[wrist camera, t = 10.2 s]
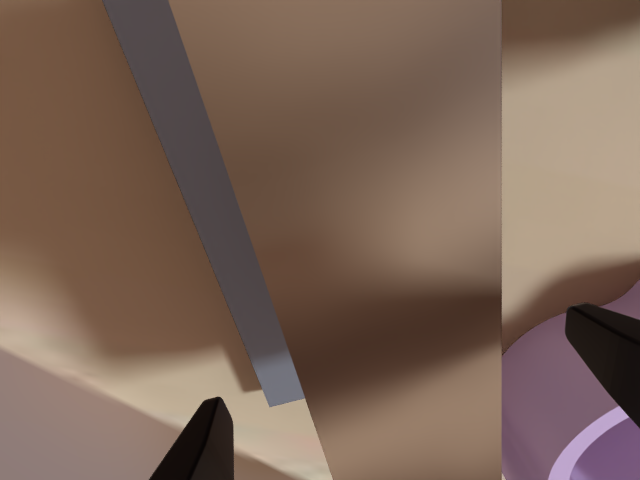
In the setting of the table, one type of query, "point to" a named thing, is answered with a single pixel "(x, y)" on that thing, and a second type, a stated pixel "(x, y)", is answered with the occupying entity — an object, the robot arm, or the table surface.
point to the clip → (564, 410)
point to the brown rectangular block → (371, 213)
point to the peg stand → (204, 183)
